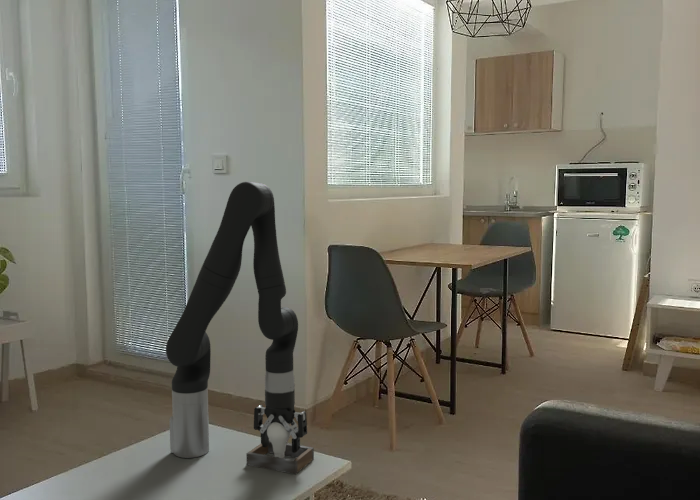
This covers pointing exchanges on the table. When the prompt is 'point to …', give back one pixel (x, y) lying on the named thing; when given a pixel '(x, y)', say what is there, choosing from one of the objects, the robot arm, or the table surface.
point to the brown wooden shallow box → (280, 464)
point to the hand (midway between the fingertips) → (280, 449)
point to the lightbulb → (278, 438)
